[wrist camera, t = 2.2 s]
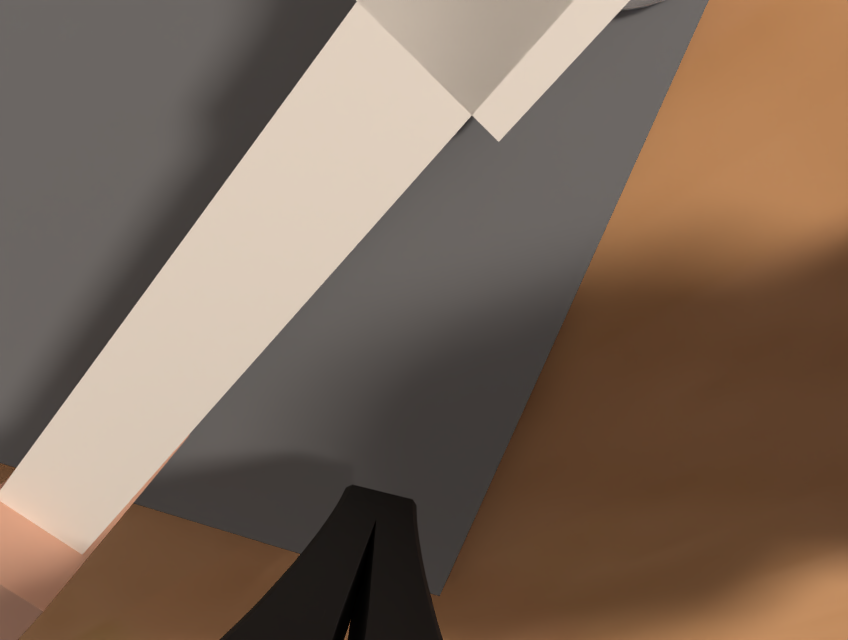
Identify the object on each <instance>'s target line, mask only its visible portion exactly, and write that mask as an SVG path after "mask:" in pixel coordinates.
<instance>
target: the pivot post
mask: <svg viewBox="0 0 848 640" xmlns="http://www.w3.org/2000/svg"><path fill="white" fill-rule="evenodd" d="M663 1H665V0H630V1H629V2H628V3H627V4H626V5H625V6H624V7H623V8H622V9H621V11H628V10H634V9H639V8H645V7H648V6H651V5H654V4H657V3H660V2H663Z"/></svg>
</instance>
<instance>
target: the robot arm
mask: <svg viewBox="0 0 848 640" xmlns="http://www.w3.org/2000/svg"><path fill="white" fill-rule="evenodd" d="M350 620H351V621H350ZM349 623H350V628H349V635H348V640H443V639H442V635H441V632H440V629H439V625H438V622H437V618H436V615H435V611H434V607H433V603H432V599H431V595H430V591H429V587H428V582H427V578H426V574H425V569H424V564H423V559H422V553H421V547H420V541H419V534H418V525H417V505H416V504H415V502H414V501H413V499H410V498H406V497H401V496H397V495H393V494H389V493H385V492H381V491H377V490H373V489H369V488H365V487H361V486H357V485H353V484H352V485H350V486H348V487H346V488H345V490H344V492H343V494H342V496H341V498H340V500H339V502H338V503H337V505H336V507H335V508H334V510H333V511H332V513H331V514H330V516H329V517H328V519H327V520H326V522H325V523H324V524H323V526H322V527H321V529H320V530H319V531H318V533H317V534H316V535H315V537H314V538H313V539H312V540H311V542H310V543H309V544H308V545H307V547H306V548H305V549H304V551H303V552H302V553H301V554H300V556H299V557H298V558H297V559H296V561H295V562H294V563H293V564H292V565H291V566H290V568H289V569H288V570H287V571H286V572H285V573H284V574H283V575H282V576H281V578H280V579H279V580H278V581H277V582H276V583H275V584H274V585H273V586H272V588H271V589H270V590H269V591H268V592H267V593H266V594H265V595H264V596H263V597H262V599H261V600H260V601H259V602H258V603H257V604H256V605H255V606H254V607H253V608H252V609H251V610H250V611H249V612H248V613H247V614H246V615H245V616H244V617H243V618H242V619H241V620H240V621H239V622H238V623H237V624H236V625H235V626H234V627H232V628H231V629H230V630H229V631H228V632H227V633H226V634H225V635H224V636H223V637H222V638H221V639H220V640H344V638H345V635H346V632H347V629H348V626H349Z"/></svg>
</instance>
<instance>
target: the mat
mask: <svg viewBox="0 0 848 640" xmlns="http://www.w3.org/2000/svg"><path fill="white" fill-rule="evenodd" d="M708 1H709V0H665V1H663V2H660V3H657V4H654V5H651V6H648V7H645V8H639V9H634V10H628V11H620V12H619V13H618V14H617V15H616V16H615V17H614V18H613V19H612V20H611V21H610V22H609V23H608V25H607V26H606V27H605V28H604V29H603V30H602V31H601V32H600V33H599V34H598V35H597V36H596V37H595V39H594V40H593V41H592V42H591V43H590V44H589V45H588V46H587V47H586V48H585V49H584V50H583V52H582V53H581V54H580V55H579V56H578V57H577V58H576V59H575V60H574V61H573V62H572V63H571V64H570V66H569V67H568V68H567V69H566V70H565V71H564V72H563V73H562V74H561V75H560V76H559V77H558V78H557V80H556V81H555V82H554V83H553V84H552V85H551V86H550V87H549V88H548V89H547V90H546V91H545V93H544V94H543V95H542V96H541V97H540V98H539V99H538V100H537V101H536V102H535V103H534V104H533V105H532V107H531V108H530V109H529V110H528V111H527V112H526V113H525V114H524V115H523V116H522V117H521V118H520V119H519V121H518V122H517V123H516V124H515V125H514V126H513V127H512V128H511V129H510V130H509V131H508V132H507V133H506V135H505V136H504V137H503V138H502V139H501V140H500V141H499V142H498V141H497V140H496V139H495V138H494V137H493V136H492V135H491V134H490V133H489V132H488V131H487V130H486V129H485V128H484V127H483V126H482V125H481V124H480V123H479V122H478V121H477V120H476V119H475V118H474V117H473V116H471V117H470V118H469V119H468V120H467V121H466V122H465V124H464V125H463V126H462V127H461V128H460V129H459V130H458V132H457V133H456V134H455V135H454V136H453V137H452V138H451V139H450V141H449V142H448V143H447V144H446V145H445V146H444V147H443V148H442V150H441V151H440V152H439V153H438V154H437V155H436V156H435V157H434V159H433V160H432V161H431V162H430V163H429V164H428V165H427V166H426V168H425V169H424V170H423V171H422V172H421V173H420V174H419V176H418V177H417V178H416V179H415V180H414V181H413V182H412V183H411V185H410V186H409V187H408V188H407V189H406V190H405V191H404V192H403V194H402V195H401V196H400V197H399V198H398V199H397V200H396V201H395V203H394V204H393V205H392V206H391V207H390V208H389V209H388V210H387V212H386V213H385V214H384V215H383V216H382V217H381V218H380V220H379V221H378V222H377V223H376V224H375V225H374V226H373V227H372V229H371V230H370V231H369V232H368V233H367V234H366V235H365V236H364V238H363V239H362V240H361V241H360V242H359V243H358V244H357V245H356V247H355V248H354V249H353V250H352V251H351V252H350V253H349V254H348V256H347V257H346V258H345V259H344V260H343V261H342V262H341V263H340V265H339V266H338V267H337V268H336V269H335V270H334V271H333V273H332V274H331V275H330V276H329V277H328V278H327V279H326V280H325V282H324V283H323V284H322V285H321V286H320V287H319V288H318V289H317V291H316V292H315V293H314V294H313V295H312V296H311V297H310V298H309V300H308V301H307V302H306V303H305V304H304V305H303V306H302V307H301V309H300V310H299V311H298V312H297V313H296V314H295V315H294V317H293V318H292V319H291V320H290V321H289V322H288V323H287V324H286V326H285V327H284V328H283V329H282V330H281V331H280V332H279V333H278V335H277V336H276V337H275V338H274V339H273V340H272V341H271V342H270V344H269V345H268V346H267V347H266V348H265V349H264V350H263V351H262V353H261V354H260V355H259V356H258V357H257V358H256V359H255V361H254V362H253V363H252V364H251V365H250V366H249V367H248V368H247V370H246V371H245V372H244V373H243V374H242V375H241V376H240V377H239V379H238V380H237V381H236V382H235V383H234V384H233V385H232V386H231V388H230V389H229V390H228V391H227V392H226V393H225V394H224V395H223V397H222V398H221V399H220V400H219V401H218V402H217V403H216V404H215V406H214V407H213V408H212V409H211V410H210V411H209V412H208V414H207V415H206V416H205V417H204V418H203V419H202V420H201V421H200V423H199V424H198V425H197V426H196V427H195V428H194V429H193V430H192V432H191V433H190V435H189V436H188V438H187V439H186V440H185V441H184V442H183V444H182V445H181V446H180V447H179V448H178V450H177V451H176V452H175V453H174V454H173V456H172V457H171V458H170V459H169V461H168V462H167V463H166V464H165V465H164V467H163V468H162V469H161V470H160V471H159V473H158V474H157V475H156V476H155V477H154V479H153V480H152V481H151V482H150V483H149V485H148V486H147V487H146V488H145V489H144V491H143V492H142V493H141V494H140V496H139V497H138V498H137V499H136V500H135V502H134V504H138V505H141V506H144V507H148V508H151V509H154V510H158V511H161V512H164V513H167V514H171V515H174V516H177V517H181V518H184V519H187V520H190V521H194V522H197V523H200V524H204V525H207V526H210V527H214V528H217V529H220V530H223V531H227V532H230V533H233V534H237V535H240V536H243V537H246V538H250V539H253V540H256V541H260V542H263V543H266V544H270V545H273V546H276V547H279V548H283V549H286V550H289V551H293V552H296V553H299V554H301V553H302V552H303V551H304V549H305V548H306V547H307V545H308V544H309V543H310V542H311V540H312V539H313V538H314V537H315V535H316V534H317V533H318V531H319V530H320V529H321V527H322V526H323V524H324V523H325V522H326V520H327V519H328V517H329V516H330V514H331V513H332V511H333V510H334V508H335V507H336V505H337V503H338V502H339V500H340V498H341V496H342V494H343V492H344V490H345V488H346V487H348V486H350V485H352V484H353V485H357V486H361V487H365V488H369V489H373V490H377V491H381V492H385V493H389V494H393V495H397V496H401V497H406V498H410V499H413V501H414V502H415V504H416V505H417V525H418V534H419V541H420V547H421V553H422V559H423V564H424V569H425V574H426V578H427V582H428V587H429V591H430V593H431V594H434V595H438V596H440V594H441V592H442V589H443V587H444V585H445V583H446V581H447V578H448V576H449V574H450V572H451V570H452V567H453V565H454V563H455V561H456V558H457V556H458V554H459V552H460V550H461V547H462V545H463V543H464V541H465V539H466V536H467V534H468V532H469V530H470V527H471V525H472V523H473V521H474V519H475V516H476V514H477V512H478V510H479V508H480V505H481V503H482V501H483V499H484V496H485V494H486V492H487V490H488V488H489V485H490V483H491V481H492V479H493V477H494V474H495V472H496V470H497V468H498V465H499V463H500V461H501V459H502V457H503V454H504V452H505V450H506V448H507V446H508V443H509V441H510V439H511V437H512V434H513V432H514V430H515V428H516V426H517V423H518V421H519V419H520V417H521V415H522V412H523V410H524V408H525V406H526V403H527V401H528V399H529V397H530V395H531V392H532V390H533V388H534V386H535V384H536V381H537V379H538V377H539V375H540V372H541V370H542V368H543V366H544V364H545V361H546V359H547V357H548V355H549V353H550V350H551V348H552V346H553V344H554V341H555V339H556V337H557V335H558V333H559V330H560V328H561V326H562V324H563V322H564V319H565V317H566V315H567V313H568V310H569V308H570V306H571V304H572V302H573V299H574V297H575V295H576V293H577V291H578V288H579V286H580V284H581V282H582V280H583V277H584V275H585V273H586V271H587V268H588V266H589V264H590V262H591V260H592V257H593V255H594V253H595V251H596V249H597V246H598V244H599V242H600V240H601V237H602V235H603V233H604V231H605V229H606V226H607V224H608V222H609V220H610V218H611V215H612V213H613V211H614V209H615V206H616V204H617V202H618V200H619V198H620V195H621V193H622V191H623V189H624V187H625V184H626V182H627V180H628V178H629V175H630V173H631V171H632V169H633V167H634V164H635V162H636V160H637V158H638V156H639V153H640V151H641V149H642V147H643V144H644V142H645V140H646V138H647V136H648V133H649V131H650V129H651V127H652V125H653V122H654V120H655V118H656V116H657V113H658V111H659V109H660V107H661V105H662V102H663V100H664V98H665V96H666V94H667V91H668V89H669V87H670V85H671V82H672V80H673V78H674V76H675V74H676V71H677V69H678V67H679V65H680V63H681V60H682V58H683V56H684V54H685V51H686V49H687V47H688V45H689V43H690V40H691V38H692V36H693V34H694V32H695V29H696V27H697V25H698V23H699V20H700V18H701V16H702V14H703V12H704V9H705V7H706V5H707V3H708ZM356 2H357V1H356V0H0V463H3V464H6V465H9V466H13V467H16V468H17V466H18V465H19V464H20V462H21V461H22V460H23V458H24V457H25V455H26V454H27V453H28V451H29V450H30V449H31V447H32V446H33V445H34V443H35V442H36V440H37V439H38V438H39V436H40V435H41V434H42V432H43V431H44V429H45V428H46V427H47V425H48V424H49V423H50V421H51V420H52V419H53V417H54V416H55V414H56V413H57V412H58V410H59V409H60V408H61V406H62V405H63V403H64V402H65V401H66V399H67V398H68V397H69V395H70V394H71V392H72V391H73V390H74V388H75V387H76V386H77V384H78V383H79V382H80V380H81V379H82V377H83V376H84V375H85V373H86V372H87V371H88V369H89V368H90V366H91V365H92V364H93V362H94V361H95V360H96V358H97V357H98V355H99V354H100V353H101V351H102V350H103V349H104V347H105V346H106V345H107V343H108V342H109V340H110V339H111V338H112V336H113V335H114V334H115V332H116V331H117V329H118V328H119V327H120V325H121V324H122V323H123V321H124V320H125V319H126V317H127V316H128V314H129V313H130V312H131V310H132V309H133V308H134V306H135V305H136V303H137V302H138V301H139V299H140V298H141V297H142V295H143V294H144V292H145V291H146V290H147V288H148V287H149V286H150V284H151V283H152V282H153V280H154V279H155V277H156V276H157V275H158V273H159V272H160V271H161V269H162V268H163V266H164V265H165V264H166V262H167V261H168V260H169V258H170V257H171V255H172V254H173V253H174V251H175V250H176V249H177V247H178V246H179V245H180V243H181V242H182V240H183V239H184V238H185V236H186V235H187V234H188V232H189V231H190V229H191V228H192V227H193V225H194V224H195V223H196V221H197V220H198V218H199V217H200V216H201V214H202V213H203V212H204V210H205V209H206V208H207V206H208V205H209V203H210V202H211V201H212V199H213V198H214V197H215V195H216V194H217V192H218V191H219V190H220V188H221V187H222V186H223V184H224V183H225V182H226V180H227V179H228V177H229V176H230V175H231V173H232V172H233V171H234V169H235V168H236V166H237V165H238V164H239V162H240V161H241V160H242V158H243V157H244V155H245V154H246V153H247V151H248V150H249V149H250V147H251V146H252V145H253V143H254V142H255V140H256V139H257V138H258V136H259V135H260V134H261V132H262V131H263V129H264V128H265V127H266V125H267V124H268V123H269V121H270V120H271V118H272V117H273V116H274V114H275V113H276V112H277V110H278V109H279V108H280V106H281V105H282V103H283V102H284V101H285V99H286V98H287V97H288V95H289V94H290V92H291V91H292V90H293V88H294V87H295V86H296V84H297V83H298V82H299V80H300V79H301V77H302V76H303V75H304V73H305V72H306V71H307V69H308V68H309V66H310V65H311V64H312V62H313V61H314V60H315V58H316V57H317V55H318V54H319V53H320V51H321V50H322V49H323V47H324V46H325V45H326V43H327V42H328V40H329V39H330V38H331V36H332V35H333V34H334V32H335V31H336V29H337V28H338V27H339V25H340V24H341V23H342V21H343V20H344V18H345V17H346V16H347V14H348V13H349V12H350V10H351V9H352V8H353V6H354V5H355V3H356Z"/></svg>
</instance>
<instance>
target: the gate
mask: <svg viewBox="0 0 848 640" xmlns="http://www.w3.org/2000/svg"><path fill="white" fill-rule="evenodd" d="M356 1H357V2H356V3H355V5H354V6H353V8H352V9H351V10H350V12H349V13H348V14H347V16H346V17H345V18H344V20H343V21H342V23H341V24H340V25H339V27H338V28H337V29H336V31H335V32H334V34H333V35H332V36H331V38H330V39H329V40H328V42H327V43H326V45H325V46H324V47H323V49H322V50H321V51H320V53H319V54H318V55H317V57H316V58H315V60H314V61H313V62H312V64H311V65H310V66H309V68H308V69H307V71H306V72H305V73H304V75H303V76H302V77H301V79H300V80H299V82H298V83H297V84H296V86H295V87H294V88H293V90H292V91H291V92H290V94H289V95H288V97H287V98H286V99H285V101H284V102H283V103H282V105H281V106H280V108H279V109H278V110H277V112H276V113H275V114H274V116H273V117H272V118H271V120H270V121H269V123H268V124H267V125H266V127H265V128H264V129H263V131H262V132H261V134H260V135H259V136H258V138H257V139H256V140H255V142H254V143H253V145H252V146H251V147H250V149H249V150H248V151H247V153H246V154H245V155H244V157H243V158H242V160H241V161H240V162H239V164H238V165H237V166H236V168H235V169H234V171H233V172H232V173H231V175H230V176H229V177H228V179H227V180H226V182H225V183H224V184H223V186H222V187H221V188H220V190H219V191H218V192H217V194H216V195H215V197H214V198H213V199H212V201H211V202H210V203H209V205H208V206H207V208H206V209H205V210H204V212H203V213H202V214H201V216H200V217H199V218H198V220H197V221H196V223H195V224H194V225H193V227H192V228H191V229H190V231H189V232H188V234H187V235H186V236H185V238H184V239H183V240H182V242H181V243H180V245H179V246H178V247H177V249H176V250H175V251H174V253H173V254H172V255H171V257H170V258H169V260H168V261H167V262H166V264H165V265H164V266H163V268H162V269H161V271H160V272H159V273H158V275H157V276H156V277H155V279H154V280H153V282H152V283H151V284H150V286H149V287H148V288H147V290H146V291H145V292H144V294H143V295H142V297H141V298H140V299H139V301H138V302H137V303H136V305H135V306H134V308H133V309H132V310H131V312H130V313H129V314H128V316H127V317H126V319H125V320H124V321H123V323H122V324H121V325H120V327H119V328H118V329H117V331H116V332H115V334H114V335H113V336H112V338H111V339H110V340H109V342H108V343H107V345H106V346H105V347H104V349H103V350H102V351H101V353H100V354H99V355H98V357H97V358H96V360H95V361H94V362H93V364H92V365H91V366H90V368H89V369H88V371H87V372H86V373H85V375H84V376H83V377H82V379H81V380H80V382H79V383H78V384H77V386H76V387H75V388H74V390H73V391H72V392H71V394H70V395H69V397H68V398H67V399H66V401H65V402H64V403H63V405H62V406H61V408H60V409H59V410H58V412H57V413H56V414H55V416H54V417H53V419H52V420H51V421H50V423H49V424H48V425H47V427H46V428H45V429H44V431H43V432H42V434H41V435H40V436H39V438H38V439H37V440H36V442H35V443H34V445H33V446H32V447H31V449H30V450H29V451H28V453H27V454H26V455H25V457H24V458H23V460H22V461H21V462H20V464H19V465H18V466H17V468H16V469H15V471H14V472H13V473H12V475H11V476H10V477H9V478H8V479H6V480H5V481H4V482H3V483H2V484H0V640H18V639H19V638H20V637H21V636H22V635H23V634H24V632H25V631H26V630H27V629H28V628H29V627H30V626H31V625H32V624H33V622H34V621H35V620H36V619H37V618H38V617H39V616H40V615H41V614H42V612H43V611H44V610H45V609H46V608H47V607H48V605H49V604H50V603H51V602H52V601H53V599H54V598H55V597H56V596H57V594H58V593H59V592H60V591H61V590H62V588H63V587H64V586H65V585H66V584H67V582H68V581H69V580H70V579H71V578H72V576H73V575H74V574H75V573H76V572H77V570H78V569H79V568H80V567H81V566H82V564H83V563H84V562H85V561H86V559H87V558H88V557H89V556H90V555H91V553H92V552H93V551H94V550H95V549H96V547H97V546H98V545H99V544H100V543H101V541H102V540H103V539H104V538H105V537H106V535H107V534H108V533H109V532H110V531H111V529H112V528H113V527H114V526H115V524H116V523H117V522H118V521H119V520H120V518H121V517H122V516H123V515H124V514H125V512H126V511H127V510H128V509H129V508H130V506H131V505H132V504H133V503H134V502H135V500H136V499H137V498H138V497H139V496H140V494H141V493H142V492H143V491H144V489H145V488H146V487H147V486H148V485H149V483H150V482H151V481H152V480H153V479H154V477H155V476H156V475H157V474H158V473H159V471H160V470H161V469H162V468H163V467H164V465H165V464H166V463H167V462H168V461H169V459H170V458H171V457H172V456H173V454H174V453H175V452H176V451H177V450H178V448H179V447H180V446H181V445H182V444H183V442H184V441H185V440H186V439H187V438H188V436H189V435H190V433H191V432H192V430H193V429H194V428H195V427H196V426H197V425H198V424H199V423H200V421H201V420H202V419H203V418H204V417H205V416H206V415H207V414H208V412H209V411H210V410H211V409H212V408H213V407H214V406H215V404H216V403H217V402H218V401H219V400H220V399H221V398H222V397H223V395H224V394H225V393H226V392H227V391H228V390H229V389H230V388H231V386H232V385H233V384H234V383H235V382H236V381H237V380H238V379H239V377H240V376H241V375H242V374H243V373H244V372H245V371H246V370H247V368H248V367H249V366H250V365H251V364H252V363H253V362H254V361H255V359H256V358H257V357H258V356H259V355H260V354H261V353H262V351H263V350H264V349H265V348H266V347H267V346H268V345H269V344H270V342H271V341H272V340H273V339H274V338H275V337H276V336H277V335H278V333H279V332H280V331H281V330H282V329H283V328H284V327H285V326H286V324H287V323H288V322H289V321H290V320H291V319H292V318H293V317H294V315H295V314H296V313H297V312H298V311H299V310H300V309H301V307H302V306H303V305H304V304H305V303H306V302H307V301H308V300H309V298H310V297H311V296H312V295H313V294H314V293H315V292H316V291H317V289H318V288H319V287H320V286H321V285H322V284H323V283H324V282H325V280H326V279H327V278H328V277H329V276H330V275H331V274H332V273H333V271H334V270H335V269H336V268H337V267H338V266H339V265H340V263H341V262H342V261H343V260H344V259H345V258H346V257H347V256H348V254H349V253H350V252H351V251H352V250H353V249H354V248H355V247H356V245H357V244H358V243H359V242H360V241H361V240H362V239H363V238H364V236H365V235H366V234H367V233H368V232H369V231H370V230H371V229H372V227H373V226H374V225H375V224H376V223H377V222H378V221H379V220H380V218H381V217H382V216H383V215H384V214H385V213H386V212H387V210H388V209H389V208H390V207H391V206H392V205H393V204H394V203H395V201H396V200H397V199H398V198H399V197H400V196H401V195H402V194H403V192H404V191H405V190H406V189H407V188H408V187H409V186H410V185H411V183H412V182H413V181H414V180H415V179H416V178H417V177H418V176H419V174H420V173H421V172H422V171H423V170H424V169H425V168H426V166H427V165H428V164H429V163H430V162H431V161H432V160H433V159H434V157H435V156H436V155H437V154H438V153H439V152H440V151H441V150H442V148H443V147H444V146H445V145H446V144H447V143H448V142H449V141H450V139H451V138H452V137H453V136H454V135H455V134H456V133H457V132H458V130H459V129H460V128H461V127H462V126H463V125H464V124H465V122H466V121H467V120H468V119H469V118H470V117H471V116H473V117H474V118H475V119H476V120H477V121H478V122H479V123H480V124H481V125H482V126H483V127H484V128H485V129H486V130H487V131H488V132H489V133H490V134H491V135H492V136H493V137H494V138H495V139H496V140H497V141H498V142H499V141H500V140H501V139H502V138H503V137H504V136H505V135H506V133H507V132H508V131H509V130H510V129H511V128H512V127H513V126H514V125H515V124H516V123H517V122H518V121H519V119H520V118H521V117H522V116H523V115H524V114H525V113H526V112H527V111H528V110H529V109H530V108H531V107H532V105H533V104H534V103H535V102H536V101H537V100H538V99H539V98H540V97H541V96H542V95H543V94H544V93H545V91H546V90H547V89H548V88H549V87H550V86H551V85H552V84H553V83H554V82H555V81H556V80H557V78H558V77H559V76H560V75H561V74H562V73H563V72H564V71H565V70H566V69H567V68H568V67H569V66H570V64H571V63H572V62H573V61H574V60H575V59H576V58H577V57H578V56H579V55H580V54H581V53H582V52H583V50H584V49H585V48H586V47H587V46H588V45H589V44H590V43H591V42H592V41H593V40H594V39H595V37H596V36H597V35H598V34H599V33H600V32H601V31H602V30H603V29H604V28H605V27H606V26H607V25H608V23H609V22H610V21H611V20H612V19H613V18H614V17H615V16H616V15H617V14H618V13H619V12H620V11H621V9H622V8H623V7H624V6H625V5H626V4H627V3H628V2H629V1H630V0H356Z"/></svg>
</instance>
